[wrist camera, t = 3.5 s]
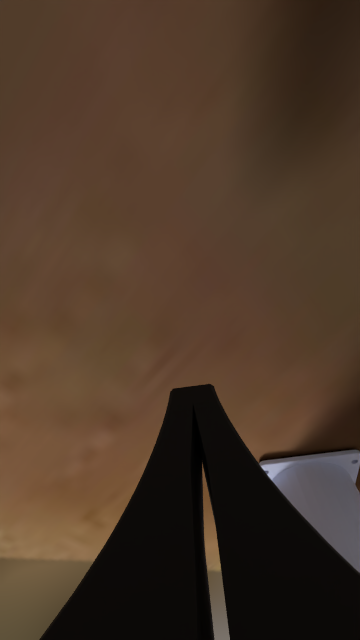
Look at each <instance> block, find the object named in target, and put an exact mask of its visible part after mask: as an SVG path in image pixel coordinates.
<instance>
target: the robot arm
mask: <svg viewBox="0 0 360 640" xmlns="http://www.w3.org/2000/svg"><path fill="white" fill-rule="evenodd" d="M202 463H203V468H204V472H205V477H206V482H207V487H208V491H209V496H210V501H211V506H212V510H213V515H214V520H215V525H216V531H217V539H218V547H219V555H220V563H221V571H222V579H223V587H224V594H225V603H226V611H227V618H228V626H229V635H230V640H360V493H359V491H358V489H357V487H356V485H355V483H356V479H357V475H358V470H359V466H360V451H359V450H347V451H338V452H330V453H322V454H314V455H306V456H297V457H289V458H281V459H273V460H265V461H261V462H260V463H258V462H257V461H256V459H255V458H254V456H253V455H252V454H251V452H250V451H249V449H248V448H247V447H246V445H245V444H244V442H243V441H242V439H241V438H240V436H239V434H238V433H237V431H236V430H235V428H234V426H233V425H232V423H231V422H230V420H229V418H228V416H227V415H226V413H225V411H224V409H223V407H222V405H221V403H220V401H219V399H218V397H217V394H216V392H215V389H214V386H213V385H211V384H206V385H198V386H191V387H183V388H175V389H172V391H171V392H170V397H169V402H168V406H167V410H166V414H165V417H164V421H163V424H162V427H161V430H160V432H159V435H158V438H157V441H156V444H155V446H154V449H153V451H152V454H151V456H150V459H149V461H148V463H147V466H146V468H145V470H144V473H143V475H142V477H141V479H140V481H139V483H138V485H137V488H136V490H135V492H134V494H133V495H132V497H131V499H130V501H129V503H128V505H127V507H126V509H125V511H124V512H123V514H122V516H121V518H120V520H119V521H118V523H117V525H116V527H115V529H114V530H113V532H112V534H111V535H110V537H109V539H108V540H107V542H106V544H105V545H104V547H103V549H102V550H101V552H100V553H99V555H98V556H97V558H96V559H95V561H94V562H93V564H92V566H91V567H90V569H89V570H88V572H87V573H86V575H85V576H84V578H83V579H82V581H81V582H80V584H79V585H78V587H77V588H76V590H75V591H74V593H73V594H72V596H71V597H70V598H69V600H68V601H67V603H66V604H65V605H64V607H63V608H62V609H61V611H60V612H59V614H58V615H57V616H56V618H55V619H54V620H53V622H52V623H51V624H50V626H49V628H48V629H47V630H46V631H45V633H44V634H43V635H42V637H41V638H40V640H214V633H213V622H212V613H211V603H210V594H209V585H208V576H207V565H206V556H205V544H204V521H203V483H202Z"/></svg>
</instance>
